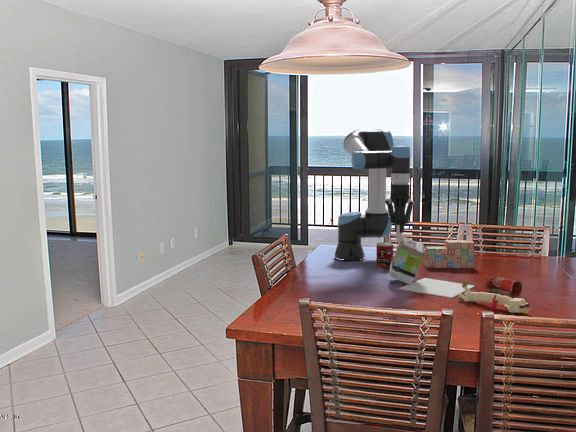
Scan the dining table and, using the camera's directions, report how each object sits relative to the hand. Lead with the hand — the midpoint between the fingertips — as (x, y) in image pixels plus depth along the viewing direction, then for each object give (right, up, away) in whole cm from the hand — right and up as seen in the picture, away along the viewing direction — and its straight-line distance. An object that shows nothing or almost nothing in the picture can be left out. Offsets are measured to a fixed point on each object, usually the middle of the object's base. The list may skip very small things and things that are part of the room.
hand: (399, 240), depth 231 cm
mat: (+13, -19, -9) cm, 25 cm away
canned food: (-1, -14, +31) cm, 34 cm away
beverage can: (+35, -20, -21) cm, 45 cm away
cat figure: (+26, -22, -36) cm, 50 cm away
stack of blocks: (+29, -14, +30) cm, 44 cm away
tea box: (+1, -15, +1) cm, 15 cm away
